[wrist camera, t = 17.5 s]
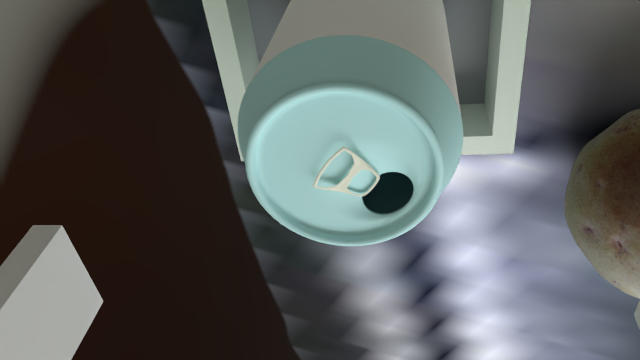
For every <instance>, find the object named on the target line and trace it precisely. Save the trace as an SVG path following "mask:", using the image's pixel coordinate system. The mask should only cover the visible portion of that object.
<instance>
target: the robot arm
mask: <svg viewBox="0 0 640 360" xmlns="http://www.w3.org/2000/svg"><path fill="white" fill-rule="evenodd" d="M102 303H103V300H102V298H101V296H100V294H99V293H98V291H97V289H96V287H95V285H94V283H93V282H92V280H91V278H90V276H89V274H88V272H87V270H86V269H85V267H84V265H83V263H82V261H81V260H80V258H79V256H78V254H77V253H76V250H75V248H74V247H73V245H72V243H71V241H70V239H69V237H68V236H67V234H66V232H65V230H64V228H63V227H62V225H33V226H32V227H31V229H30V230H29V231H28V232H27V234H26V235H25V236H24V238H23V239H22V240H21V241H20V243H19V244H18V245H17V246H16V248H15V249H14V250H13V251H12V253H11V254H10V255H9V256H8V258H7V259H6V260H5V262H4V263H3V264H2V265H1V267H0V360H71V359H72V357H73V355H74V353H75V352H76V350H77V348H78V346H79V344H80V343H81V341H82V339H83V337H84V335H85V334H86V331H87V330H88V328H89V326H90V324H91V323H92V321H93V319H94V317H95V315H96V313H97V312H98V310H99V308H100V306H101V305H102ZM634 317H635V319H636V322H637V324H638V327H639V329H640V300H639V303H638V306H637V308H636V311H635V314H634Z"/></svg>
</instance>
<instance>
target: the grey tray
mask: <svg viewBox="0 0 640 360" xmlns="http://www.w3.org/2000/svg"><path fill="white" fill-rule="evenodd" d="M290 1H291V0H202V2H203V6H204V10H205V14H206V19H207V23H208V27H209V31H210V35H211V39H212V43H213V47H214V51H215V55H216V60H217V64H218V68H219V72H220V76H221V80H222V84H223V88H224V92H225V96H226V101H227V105H228V109H229V113H230V117H231V121H232V125H233V129H234V133H235V138H236V142H237V146H238V150H239V154H240V158H241V161H244V159H243V156H242V154H241V150H240V146H239V139H238V114H239V109H240V105H241V101H242V99H243V96H244V93H245V91H246V89H247V87H248V85H249V83H250V81H251V79H252V77H253V75H254V73H255V71H256V69H257V67H258V65H259V63H260V61H261V59H262V57H263V55H264V53H265V51H266V49H267V47H268V45H269V43H270V41H271V39H272V37H273V35H274V33H275V31H276V29H277V27H278V25H279V23H280V21H281V19H282V17H283V15H284V13H285V11H286V9H287V7H288V5H289V3H290ZM442 1H443V4H444V9H445V15H446V22H447V28H448V34H449V41H450V47H451V54H452V60H453V67H454V73H455V79H456V86H457V92H458V99H459V105H460V111H461V118H462V124H463V146H462V152H461V155H479V154H513V153H514V144H515V135H516V127H517V118H518V109H519V101H520V92H521V83H522V75H523V66H524V58H525V49H526V40H527V32H528V23H529V14H530V6H531V0H442Z"/></svg>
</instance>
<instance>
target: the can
mask: <svg viewBox="0 0 640 360" xmlns="http://www.w3.org/2000/svg"><path fill="white" fill-rule="evenodd" d="M238 139H239V146H240V150H241V154H242V156H243V159H244V162H245V166H246V173H247V177H248V181H249V183H250V186H251V188H252V190H253V193H254V194H255V196H256V198H257V199H258V201H259V202H260V204H261V205H262V206H263V207H264V209H265V210H266V211H267V212H268V213H269V214H270V215H271V216H272V217H273V218H274V219H276V220H277V221H278V222H279V223H281V224H282V225H284V226H285V227H287V228H288V229H290V230H292V231H293V232H295V233H297V234H299V235H301V236H304V237H306V238H309V239H312V240H315V241H318V242H322V243H326V244H332V245H340V246H363V245H371V244H376V243H380V242H384V241H387V240H390V239H393V238H395V237H397V236H399V235H402V234H404V233H405V232H407V231H409V230H410V229H412V228H413V227H414V226H416V225H417V224H418V223H419V222H421V221H422V220H423V219H424V218H425V217H426V216H427V215H428V213H429V212H430V211H431V209H432V208H433V207H434V205H435V203H436V202H437V200H438V198H439V195H440V194H441V192H442V191H443V190H444V189H445V187H446V186H447V185H448V183H449V182H450V180H451V178H452V176H453V175H454V172H455V170H456V168H457V165H458V163H459V160H460V156H461V152H462V146H463V124H462V118H461V111H460V105H459V99H458V92H457V86H456V79H455V73H454V67H453V60H452V54H451V47H450V41H449V34H448V28H447V22H446V15H445V9H444V4H443V1H442V0H291V1H290V3H289V5H288V7H287V9H286V11H285V13H284V15H283V17H282V19H281V21H280V23H279V25H278V27H277V29H276V31H275V33H274V35H273V37H272V39H271V41H270V43H269V45H268V47H267V49H266V51H265V53H264V55H263V57H262V59H261V61H260V63H259V65H258V67H257V69H256V71H255V73H254V75H253V77H252V79H251V81H250V83H249V85H248V87H247V89H246V91H245V93H244V96H243V99H242V101H241V105H240V109H239V114H238Z"/></svg>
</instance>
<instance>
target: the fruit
mask: <svg viewBox="0 0 640 360" xmlns="http://www.w3.org/2000/svg"><path fill="white" fill-rule="evenodd" d="M565 217H566V221H567V224H568V227H569V229H570V231H571V234H572V236H573V238H574V240H575V242H576V243H577V245H578V247H579V248H580V249H581V251H582V252H583V253H584V255H585V256H586V257H587V259H588V260H589V261H590V263H591V264H592V265H593V266H594V268H595V269H596V270H597V271H598V272H599V274H600V275H601V276H602V277H603V278H605V279H606V280H607V281H608V282H610V283H611V284H612V285H614V286H616V287H617V288H618V289H620V290H621V291H623V292H625V293H627V294H629V295H631V296H634V297H636V298H639V299H640V109H636V110H633V111H631V112H629V113H627V114H625V115H624V116H622V117H621V118H620V119H618V120H617V121H616V122H615V123H613V124H612V125H611V126H610V127H608V128H607V129H606V130H604V131H603V132H602V133H600V134H599V135H597V136H596V137H595V138H593V139H592V140H591V141H589V142H588V143H587V144H586V145H585V146H584V147H583V149H582V150H581V152H580V153H579V155H578V157H577V159H576V160H575V162H574V164H573V167H572V170H571V173H570V177H569V181H568V185H567V189H566V196H565Z"/></svg>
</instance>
